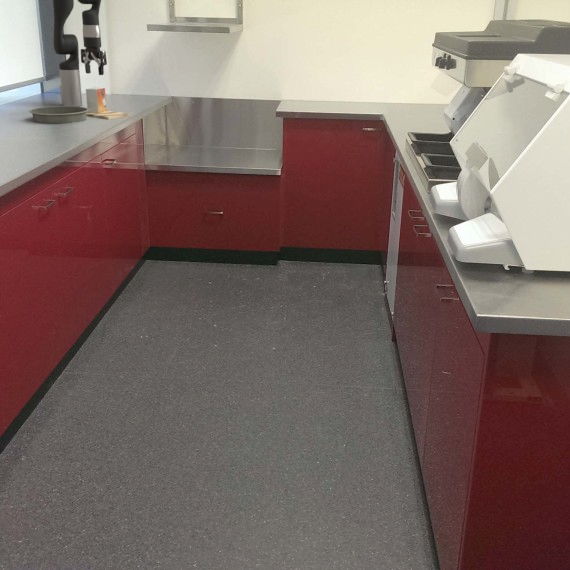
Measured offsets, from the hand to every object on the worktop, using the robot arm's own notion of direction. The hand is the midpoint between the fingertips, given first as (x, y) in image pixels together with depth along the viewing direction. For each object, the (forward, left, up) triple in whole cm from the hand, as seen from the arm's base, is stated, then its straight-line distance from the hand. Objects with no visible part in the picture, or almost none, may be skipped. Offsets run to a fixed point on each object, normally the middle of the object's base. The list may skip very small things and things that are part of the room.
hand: (94, 74), depth 305 cm
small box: (0, 0, -17) cm, 17 cm away
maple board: (+5, -1, -18) cm, 18 cm away
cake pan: (+1, -22, -18) cm, 28 cm away
